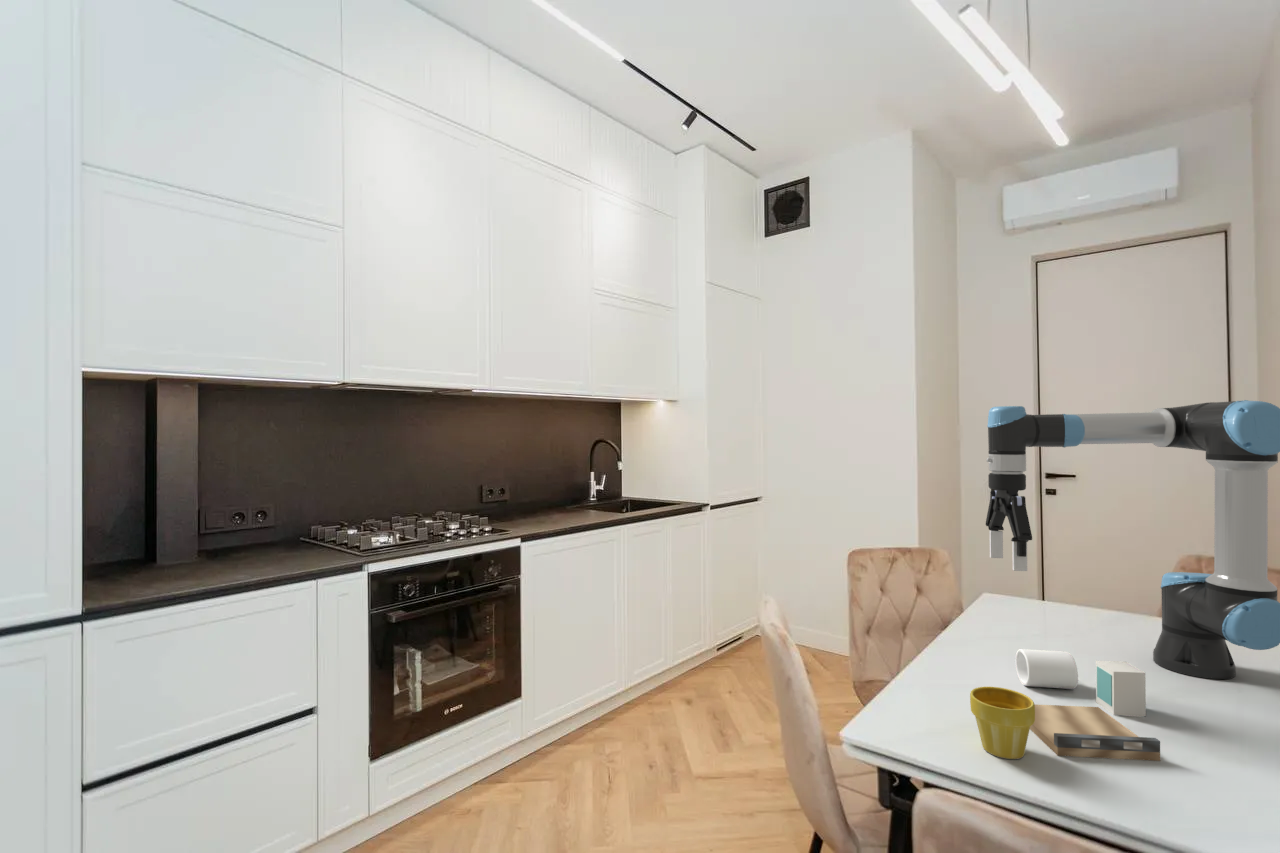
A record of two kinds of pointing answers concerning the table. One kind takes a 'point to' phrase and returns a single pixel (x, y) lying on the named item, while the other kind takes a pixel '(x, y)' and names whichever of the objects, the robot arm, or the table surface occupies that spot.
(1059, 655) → the mug
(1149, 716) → the table surface
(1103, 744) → the shelf board
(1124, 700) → the carton
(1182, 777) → the table surface
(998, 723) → the plant pot
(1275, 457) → the robot arm
